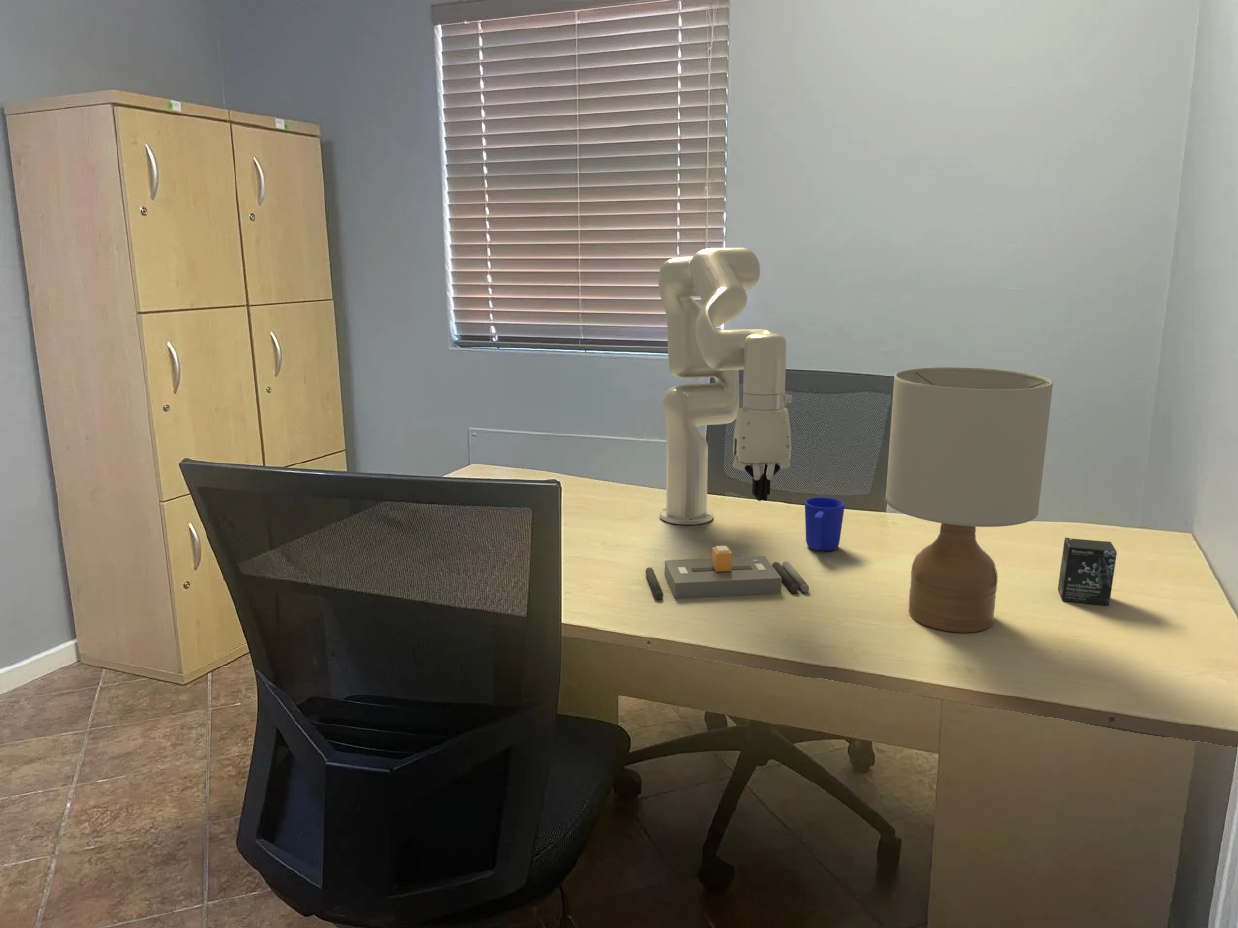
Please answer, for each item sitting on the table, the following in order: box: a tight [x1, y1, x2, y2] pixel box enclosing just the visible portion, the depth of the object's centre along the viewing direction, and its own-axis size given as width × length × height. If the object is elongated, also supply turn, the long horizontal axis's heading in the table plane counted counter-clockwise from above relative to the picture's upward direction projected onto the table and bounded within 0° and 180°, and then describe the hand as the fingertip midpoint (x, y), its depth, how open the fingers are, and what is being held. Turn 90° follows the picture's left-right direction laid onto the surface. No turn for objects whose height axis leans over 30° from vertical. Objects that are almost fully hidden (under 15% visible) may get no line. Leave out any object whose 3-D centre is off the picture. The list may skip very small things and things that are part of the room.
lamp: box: [885, 366, 1054, 634], centre depth 152 cm, size 24×24×42 cm
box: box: [1057, 537, 1118, 607], centre depth 163 cm, size 8×6×11 cm
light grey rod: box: [781, 560, 810, 593], centre depth 174 cm, size 14×2×2 cm, turn 6°
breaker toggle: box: [711, 545, 733, 572], centre depth 171 cm, size 4×3×4 cm
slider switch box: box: [664, 555, 783, 599], centre depth 172 cm, size 12×20×3 cm, turn 96°
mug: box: [804, 496, 846, 552], centre depth 189 cm, size 8×12×10 cm
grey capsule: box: [771, 561, 800, 594], centre depth 174 cm, size 14×2×2 cm, turn 6°
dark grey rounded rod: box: [645, 567, 664, 600], centre depth 171 cm, size 14×2×2 cm, turn 6°
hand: (760, 498), depth 169 cm, fingers closed
